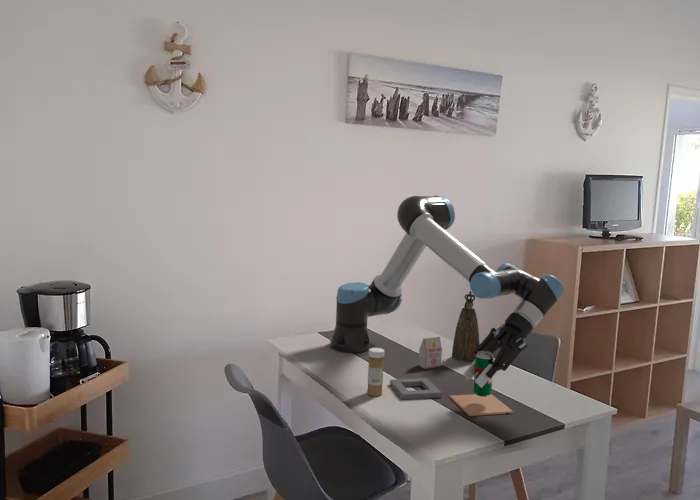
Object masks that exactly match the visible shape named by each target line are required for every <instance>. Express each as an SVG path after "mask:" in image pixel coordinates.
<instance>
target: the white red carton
mask: <svg viewBox="0 0 700 500" xmlns="http://www.w3.org/2000/svg"><path fill="white" fill-rule="evenodd" d="M421 341H422V342H421V344H420V347H419V348H418V350H419V351H418V352H419V353H418V366H419V367H421V368H422V369H424V370H426V369H432V368H433V369H435V368H441V367H442V358H443V356H442V355H443V349H442V348H443V347H442V344H441V343H442V342H441V336H433V337H432V336H431V337H426V338H423V339H422V340H421Z"/></svg>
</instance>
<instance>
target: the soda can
mask: <svg viewBox="0 0 700 500" xmlns="http://www.w3.org/2000/svg"><path fill="white" fill-rule="evenodd" d="M493 354H494V353H491V352H488V351H478V352H477V354H476V356H475V370H474V376H473V385H472V386H473V387H472V392H473V394H476V395H478V396H482V397H487V396H489V395H490V394H492V391H493V390H492V387H493V377H492V378H490V379H489V380H488V381H487V382H486V383H485V385H484V386H483V387H482V388H481V387H480V386H479V385H478V384H477V383H476V382H475V380H476V379H477V378H478V377H479V376H480V374H481V373H482V372H483V371H484V370H485V368H486V367H487V366H488V365H489V364H491V365H492V363H491V362H494V360H495V358H494V355H493ZM492 366H493V365H492Z"/></svg>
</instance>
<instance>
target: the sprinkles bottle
mask: <svg viewBox="0 0 700 500" xmlns="http://www.w3.org/2000/svg"><path fill="white" fill-rule="evenodd" d="M384 357H385V349H383V348H382V347H371V348H370V349H369V350H368V370H367V373H368V374H367V391H366V393H367V394H368V395H369V396H372V397H379V396H382V395H383V383H384V359H385V358H384Z"/></svg>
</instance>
